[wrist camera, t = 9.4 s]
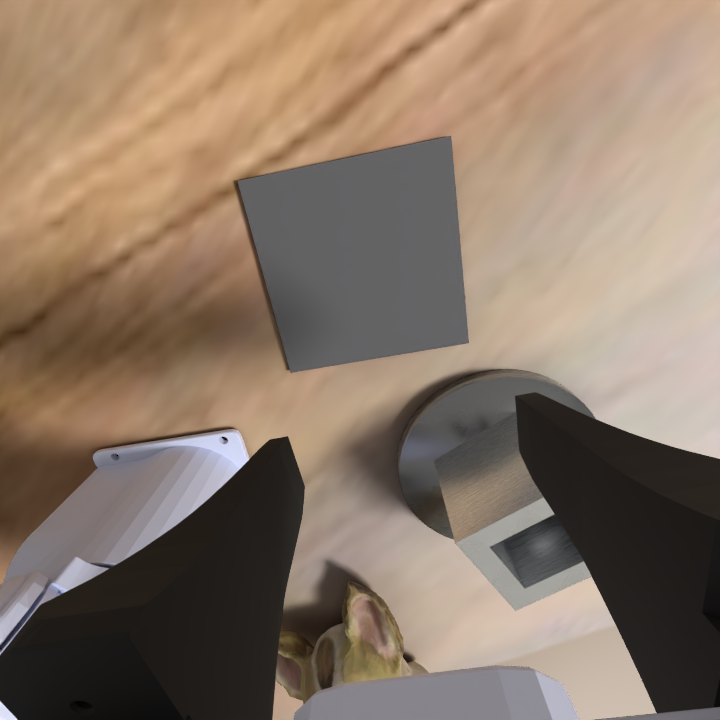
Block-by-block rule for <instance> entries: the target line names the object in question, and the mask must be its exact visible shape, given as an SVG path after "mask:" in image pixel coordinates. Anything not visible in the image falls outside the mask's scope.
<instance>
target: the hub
mask: <svg viewBox="0 0 720 720" xmlns="http://www.w3.org/2000/svg"><path fill="white" fill-rule="evenodd" d="M533 392H537V393H539V394H542V395H544V396H546V397H548V398H550V399H553V400H555V401H557V402H559V403H561V404H563V405H565V406H567V407H570V408H572V409H574V410H576V411H578V412H580V413H583V414H585V415H587V416H589V417H592V418H594V419H595V417H594V416H593V414H592V413H591V411H590V410H589V409H588V408H587V407H586V406H585V404H584V403H582V402H581V401H580V400H579V399H578V398H577V397H576V396H575V395H574V394H573V393H571V392H570V391H569V390H568V389H567V388H566V387H564V386H563V385H561V384H559V383H558V382H556V381H554V380H552V379H550V378H548V377H545V376H543V375H540V374H536V373H532V372H528V371H521V370H492V371H486V372H481V373H476V374H473V375H470V376H467V377H464V378H461V379H459V380H457V381H455V382H453V383H450V384H448V385H447V386H445V387H444V388H442V389H440V390H439V391H437V392H436V393H435V394H433V395H432V396H431V397H430V398H428V399H427V400H426V401H425V402H424V403H423V404H422V405H421V406H420V407H419V408H418V409H417V411H416V412H415V413H414V415H413V416H412V417H411V419H410V420H409V422H408V424H407V426H406V428H405V429H404V432H403V435H402V437H401V440H400V445H399V449H398V470H399V478H400V485H401V489H402V492H403V495H404V497H405V500H406V502H407V504H408V505H409V507H410V508H411V510H412V511H413V513H414V514H415V515H416V516H417V517H418V518H419V519H420V520H421V521H422V522H423V523H424V524H426V525H427V526H428V527H429V528H431V529H433V530H434V531H436V532H437V533H440V534H442V535H444V536H446V537H448V538H451V539H454V536H453V533H452V529H451V525H450V521H449V517H448V514H447V510H446V506H445V502H444V498H443V495H442V491H441V487H440V483H439V479H438V475H437V472H436V468H435V464H434V460H435V459H437V458H438V457H440V456H442V455H444V454H445V453H447V452H449V451H450V450H452V449H454V448H455V447H457V446H459V445H460V444H462V443H464V442H466V441H467V440H469V439H471V438H472V437H474V436H476V435H477V434H479V433H481V432H482V431H484V430H486V429H488V428H489V427H491V426H493V425H494V424H496V423H498V422H499V421H501V420H503V419H505V418H506V417H508V416H510V415H511V414H513V413H515V412H516V403H515V396H516V395H522V394H528V393H533Z"/></svg>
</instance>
